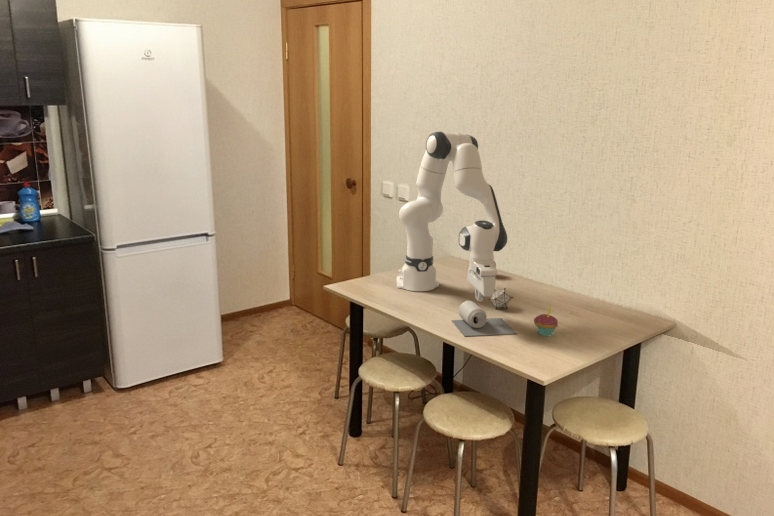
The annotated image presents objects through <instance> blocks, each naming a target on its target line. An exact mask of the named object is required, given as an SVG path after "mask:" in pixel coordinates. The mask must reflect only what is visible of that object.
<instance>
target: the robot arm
mask: <svg viewBox="0 0 774 516" xmlns="http://www.w3.org/2000/svg"><path fill="white" fill-rule="evenodd" d="M450 162H452V171H453V172H452V173H453V181H454V185H455V188H456V189H457V190H458V191H459V192H460V193H462V194H463V195H465V196H468V197H471V198H473V199H475V200H477V201H478V202H480V203H481V204H482V205H483V206H484V210H485V213H486V218H487V220H484V219H483V220H481V219H479V220H475V221H474V222H473V224H472V225H468V226H464V227H462V228H461V230H460V231H459V234H458V245H459V246H460V247H461V249H463V250H464V251H467V252H470V255H469V264H468V268H467V276H466V277H467V278H466V279H467V282H468V283H469V284H470V285H471V286H472V288H474V292H475V293H474V294H475V300H477V301H478V302H479V303H481V302H483V300H484V298H483V297H492V296H493V294H494V291H495V290H496V289H495V288H496V276H498V269H497V268H496V267H497V266H496V267H495V265H494V261H495V255H494V252H500V251H501V250H503V248H504V247H506V245H507V244H508V234H507V231H506V229H505V226H504V223H503V221H502V217H501V212H500V210H499V204H498V202H497V201H498V200H497V197H496V194H495V191H494V189H493V187H492V185H491V184H489V183H488V182H487V179H485V177H484V173H483V166H482V161H481V157H480V152H479V143H478V140H477V138H476V137H474V136H472V135H470V134H467V133H465V134H464V133H461V132H455V131H454V132H453V131H452V132H451V131H450V132H448V131H447V132H446V131H435V132H431V133H430V134H429V135H428V137H427V139H426V142H425V152H424V154H423V157H422V160H421V162H420V166H419V168H418V169H419V171H418V173H417V178H416V182H415V185H416V187H417V189H418V190H417V191H418V193H417V198H416V199H414V200H411V201H407V203H405V204H404V205H402V206H401V207H400V209H399V211H398V212H399V213H398V217H399V221H400V222H401V224H402V225H403V227H404V228H405V234H406V245H407V246H406V255H405V257H404V260H405V261H404V264H403V266H402V267H401V269H398V270H397V272H398V275H397V276H396V289H397V288H398V289H402V290H403V289H404V290H407V291H412V292H429V291H432V290H435V288H438V287H440V284H439V283H438V282H437V268H436V267H434V256H433V248H434V246H433V245H434V239H433V238H434V237H432V236H431V233H430V230H429V224H430V223H432V222H435V221H436V220H438V219H439V218H440V217H441V216H442V214H443V212H444V207H443V203H442V200H441V199H442V190H443V184H444V180H445V178H446V174H447V170H448V166H449V163H450ZM477 301H476V302H477Z"/></svg>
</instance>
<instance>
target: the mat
mask: <svg viewBox="0 0 774 516" xmlns="http://www.w3.org/2000/svg"><path fill="white" fill-rule="evenodd" d="M450 321H451V323H452V324H453V325H454V326H455V327H456V329H458V331H459V332H460V333H461V334H462V335H463V336H464V337H466V338H467V337H468V338H469V337H484V336H485V337H486V336H487V337H488V336H504V335H505V336H507V335H509V336H510V335H518V334H519V333H518V332H517V331H516V330H515V329H514V328H513V327H512V326H511V325H510V324H509V323H508V322H507V321H506V320H505V319H503V318H502V317H495V318H494V317H493V318H487V320H486V323H485V324H484V325H483V326H482V327H480V328H473V327H471V326H470V325H469V324H467V323H466V322H465V321H464V320H463V319H452V320H450Z"/></svg>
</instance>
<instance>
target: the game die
mask: <svg viewBox="0 0 774 516" xmlns="http://www.w3.org/2000/svg"><path fill="white" fill-rule="evenodd" d="M511 299H514V297H513V296H510V294H509V293H508V292H507V290H506V287H504V288H503V289H495V290H494V294H493V296H490V298H488V301H491V303H492V305H493V306H495V310H498V308H506V309H507V310H508V306H509V305H508V304H509V303H510V302H511Z"/></svg>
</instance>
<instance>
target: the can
mask: <svg viewBox="0 0 774 516" xmlns="http://www.w3.org/2000/svg"><path fill="white" fill-rule="evenodd" d="M457 312H458V315H459V317H460V318H461V320H464V321H465V322H466V323H467V324H469V325H470V326H471V327H473V328H480V327H482V326H483V325H484V324H485V323H486V320H487V319H488V318H487V312H485V310H483V309H482V308H481V307H480V306H479V305H478V304H476V303H475V302H474V301H472V300H466V301H463V302H462V303H461V304H460V305H459V307H458V311H457Z"/></svg>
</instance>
